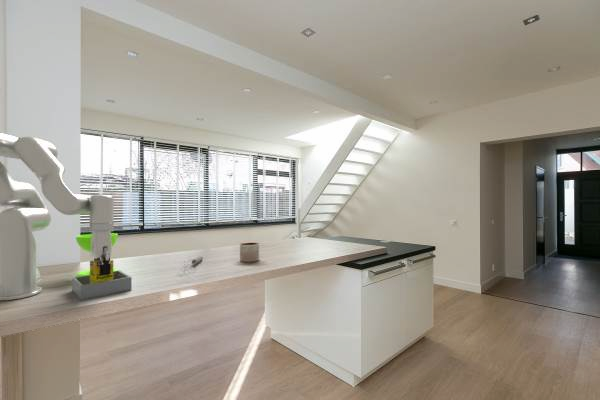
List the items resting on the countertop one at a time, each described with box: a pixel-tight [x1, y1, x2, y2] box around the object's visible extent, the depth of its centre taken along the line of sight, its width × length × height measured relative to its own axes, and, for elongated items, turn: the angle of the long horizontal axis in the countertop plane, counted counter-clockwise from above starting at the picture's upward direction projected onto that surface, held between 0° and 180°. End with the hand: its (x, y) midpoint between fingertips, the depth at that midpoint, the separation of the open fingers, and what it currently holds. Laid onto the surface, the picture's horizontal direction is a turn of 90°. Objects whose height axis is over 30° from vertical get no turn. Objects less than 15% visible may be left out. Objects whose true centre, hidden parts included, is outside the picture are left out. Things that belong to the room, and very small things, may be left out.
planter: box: [239, 241, 260, 263], centre depth 163 cm, size 11×11×10 cm
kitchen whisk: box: [180, 255, 204, 274], centre depth 149 cm, size 6×34×6 cm, turn 7°
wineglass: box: [75, 232, 119, 277], centre depth 134 cm, size 16×16×18 cm
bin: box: [71, 269, 132, 301], centre depth 109 cm, size 16×16×5 cm
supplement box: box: [89, 258, 114, 284], centre depth 109 cm, size 6×6×11 cm
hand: (101, 272), depth 109 cm, fingers open, 9 cm apart
